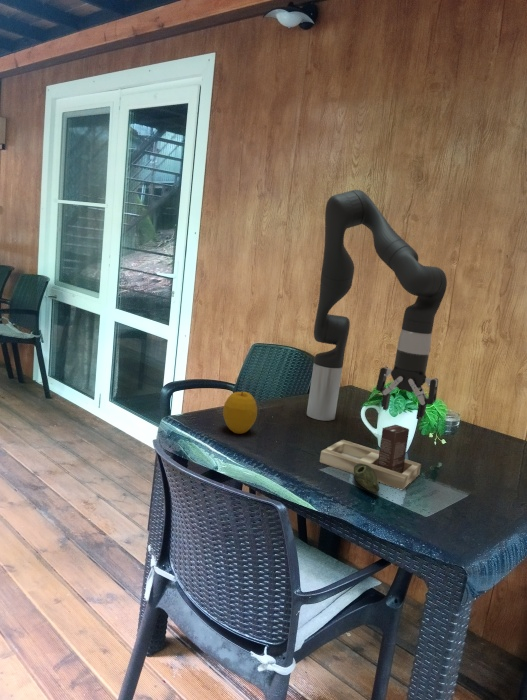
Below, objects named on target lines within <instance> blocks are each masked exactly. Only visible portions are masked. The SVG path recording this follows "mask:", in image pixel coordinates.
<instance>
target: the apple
mask: <svg viewBox="0 0 527 700" xmlns="http://www.w3.org/2000/svg"><path fill="white" fill-rule="evenodd" d="M222 415H223V419H224V422H225V425H226V426H227V428H228V429H229V430H230V431H231V432H232V433H234V434H241V435H242V434H245V433H247V432H248V431H249V430H250V429H251V428H252V426H254V424H255V422H256V420H257V417H258V405H257V401H256V399H255V398H254V396H253V395H252V394H251V393H250V392H247V391H235V392H233V393H231V394H230V395H229V396H228V397H227V399H226V400H225V402H224V405H223V409H222Z"/></svg>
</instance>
